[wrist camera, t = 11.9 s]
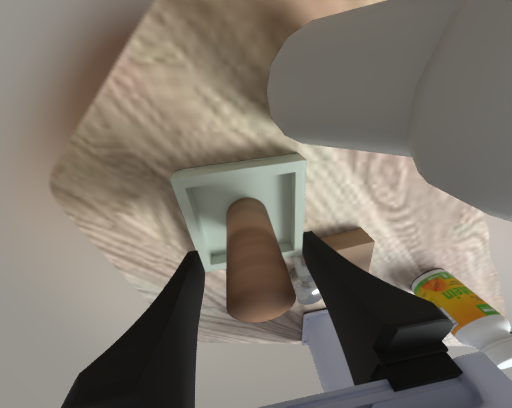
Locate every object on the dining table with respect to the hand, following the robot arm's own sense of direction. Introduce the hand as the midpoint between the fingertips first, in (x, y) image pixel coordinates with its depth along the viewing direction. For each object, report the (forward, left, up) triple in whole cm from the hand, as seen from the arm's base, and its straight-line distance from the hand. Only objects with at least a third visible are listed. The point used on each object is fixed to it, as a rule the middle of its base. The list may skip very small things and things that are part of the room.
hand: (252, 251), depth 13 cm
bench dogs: (-8, -5, -5) cm, 11 cm away
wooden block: (-8, -10, -5) cm, 14 cm away
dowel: (0, 0, -4) cm, 4 cm away
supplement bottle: (-17, -25, -5) cm, 31 cm away
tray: (0, 0, -5) cm, 5 cm away
